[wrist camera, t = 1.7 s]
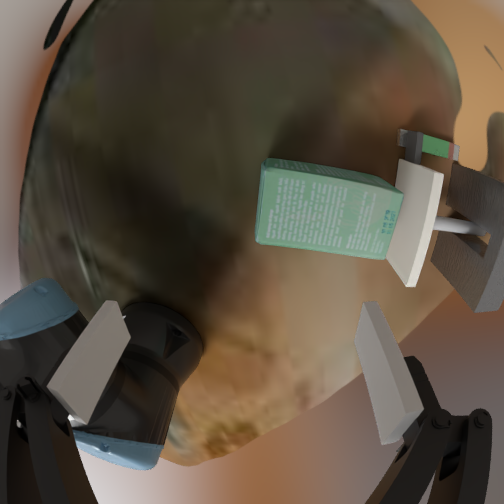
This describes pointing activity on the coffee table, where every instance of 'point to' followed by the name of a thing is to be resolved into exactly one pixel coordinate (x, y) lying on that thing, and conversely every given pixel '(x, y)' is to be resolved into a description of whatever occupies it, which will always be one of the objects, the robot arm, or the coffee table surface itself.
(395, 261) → the plunger
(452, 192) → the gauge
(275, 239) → the box
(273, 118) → the coffee table surface
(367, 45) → the coffee table surface
